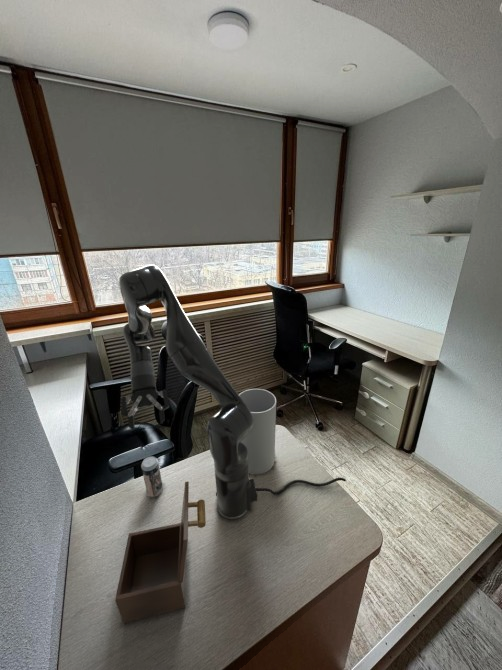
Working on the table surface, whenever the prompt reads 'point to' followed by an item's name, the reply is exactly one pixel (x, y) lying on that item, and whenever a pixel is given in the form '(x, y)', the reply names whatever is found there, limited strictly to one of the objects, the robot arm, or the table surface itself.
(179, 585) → the chest
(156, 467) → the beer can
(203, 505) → the chest lid
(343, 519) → the table surface
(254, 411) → the cylinder vase
